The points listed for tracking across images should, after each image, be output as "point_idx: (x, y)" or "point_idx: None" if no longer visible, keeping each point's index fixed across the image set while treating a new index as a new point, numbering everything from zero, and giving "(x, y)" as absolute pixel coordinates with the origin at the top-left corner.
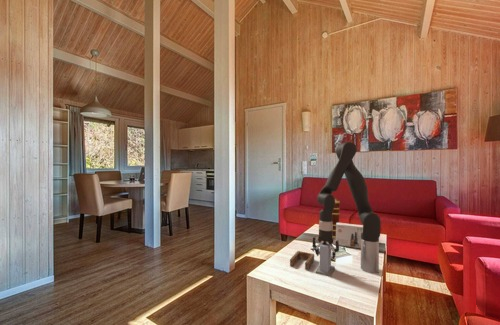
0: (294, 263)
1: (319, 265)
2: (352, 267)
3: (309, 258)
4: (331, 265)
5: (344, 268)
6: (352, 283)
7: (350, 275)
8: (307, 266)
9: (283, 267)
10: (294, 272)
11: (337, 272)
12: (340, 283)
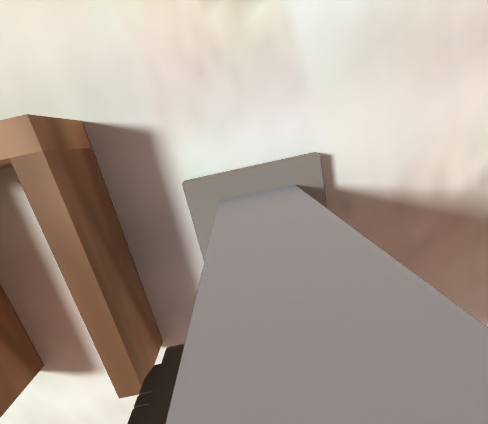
0: (15, 326)
1: (202, 240)
2: (468, 5)
3: (85, 292)
4: (292, 161)
5: (398, 96)
6: (483, 308)
7: (462, 203)
8: (152, 366)
9: (11, 411)
10: (116, 418)
11: (361, 223)
12: None
